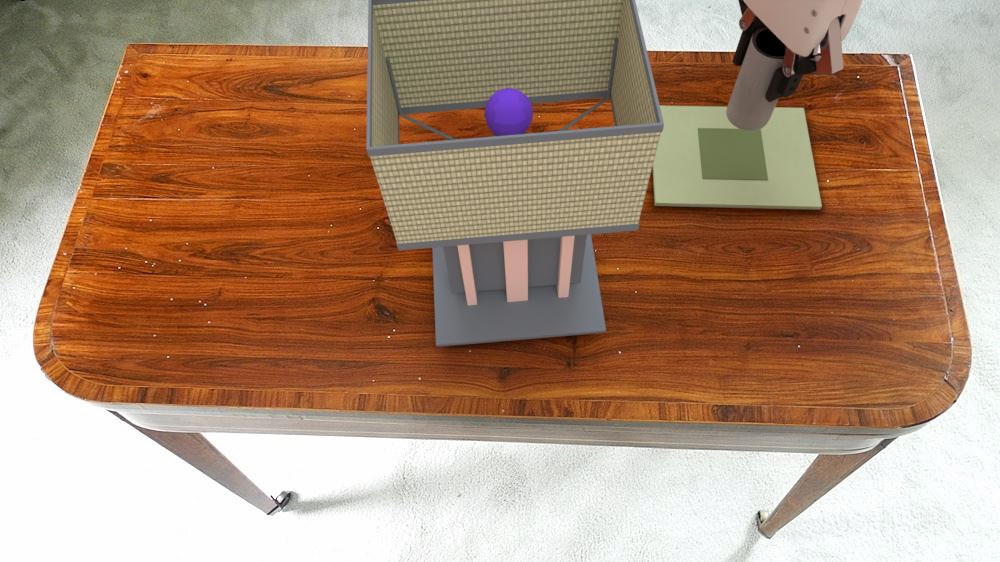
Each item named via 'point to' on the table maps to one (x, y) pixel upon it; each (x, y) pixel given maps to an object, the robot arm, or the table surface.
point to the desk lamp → (511, 154)
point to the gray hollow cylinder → (756, 81)
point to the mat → (734, 161)
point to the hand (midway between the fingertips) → (763, 75)
